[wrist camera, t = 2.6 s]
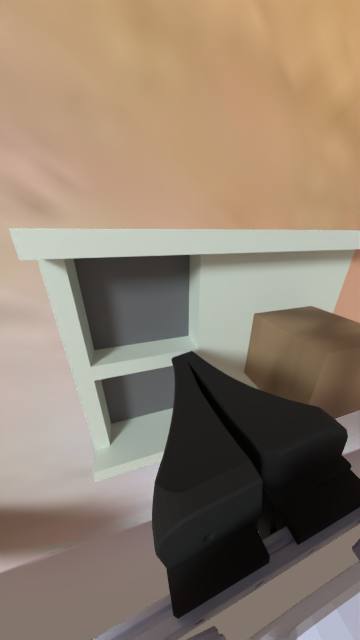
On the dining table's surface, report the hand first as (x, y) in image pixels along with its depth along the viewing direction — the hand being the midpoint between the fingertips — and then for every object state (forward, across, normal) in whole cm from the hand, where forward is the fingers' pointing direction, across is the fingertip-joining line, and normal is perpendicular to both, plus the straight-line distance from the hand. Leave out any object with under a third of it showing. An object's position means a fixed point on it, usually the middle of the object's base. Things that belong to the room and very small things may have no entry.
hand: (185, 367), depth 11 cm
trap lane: (+3, -7, +1) cm, 7 cm away
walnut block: (+1, -8, +1) cm, 8 cm away
